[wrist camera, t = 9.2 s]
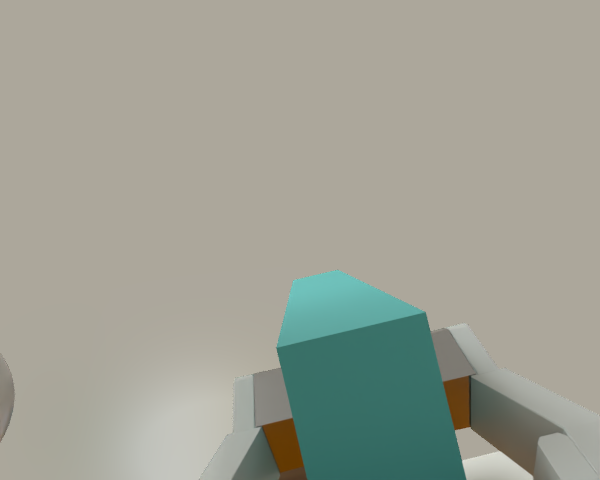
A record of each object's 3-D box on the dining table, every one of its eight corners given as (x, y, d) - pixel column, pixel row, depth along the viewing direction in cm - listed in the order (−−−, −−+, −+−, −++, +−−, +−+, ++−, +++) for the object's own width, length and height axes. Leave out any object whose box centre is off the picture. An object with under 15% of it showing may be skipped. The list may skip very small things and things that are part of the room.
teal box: (476, 513, 8) (426, 312, 9) (322, 551, 8) (275, 347, 9) (352, 329, 28) (338, 269, 29) (307, 340, 28) (292, 280, 28)
